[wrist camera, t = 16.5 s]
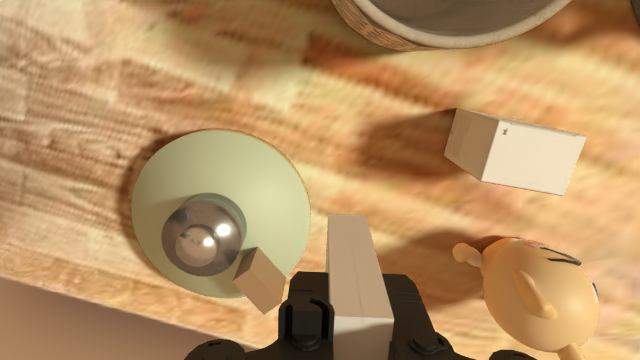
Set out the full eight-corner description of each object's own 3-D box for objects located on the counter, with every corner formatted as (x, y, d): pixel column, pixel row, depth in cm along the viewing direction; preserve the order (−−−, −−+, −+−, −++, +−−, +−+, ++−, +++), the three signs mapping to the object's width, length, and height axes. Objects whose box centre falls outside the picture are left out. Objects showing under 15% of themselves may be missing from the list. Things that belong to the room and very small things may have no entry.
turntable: (219, 316, 49) (202, 356, 42) (103, 199, 44) (64, 223, 38) (345, 227, 45) (348, 256, 38) (232, 90, 41) (213, 95, 34)
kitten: (568, 283, 48) (672, 376, 34) (496, 322, 50) (566, 426, 35) (512, 190, 45) (602, 249, 30) (438, 235, 46) (489, 311, 32)
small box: (441, 155, 43) (477, 182, 33) (455, 106, 42) (497, 119, 32) (509, 168, 44) (565, 198, 34) (526, 120, 42) (589, 136, 32)
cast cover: (206, 270, 45) (190, 297, 39) (161, 217, 43) (138, 239, 37) (261, 234, 43) (252, 258, 38) (216, 178, 41) (200, 195, 36)
